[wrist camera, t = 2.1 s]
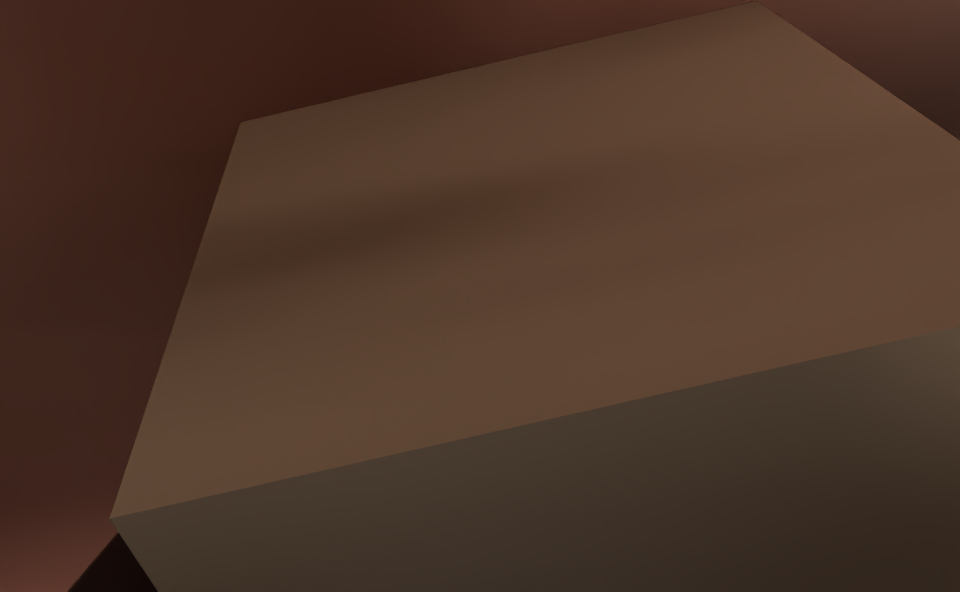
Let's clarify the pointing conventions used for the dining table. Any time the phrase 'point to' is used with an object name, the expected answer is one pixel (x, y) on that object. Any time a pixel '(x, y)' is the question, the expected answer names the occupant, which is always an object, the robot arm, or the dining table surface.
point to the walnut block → (571, 334)
